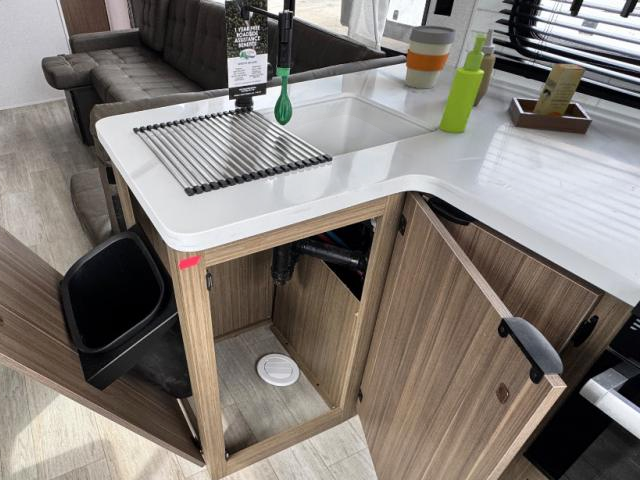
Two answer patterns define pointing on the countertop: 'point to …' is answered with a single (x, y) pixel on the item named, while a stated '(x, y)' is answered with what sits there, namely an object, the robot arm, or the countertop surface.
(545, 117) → the tray
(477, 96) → the squeeze bottle
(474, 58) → the soap dispenser
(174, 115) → the countertop surface
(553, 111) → the shoe polish box
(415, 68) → the reusable coffee cup
